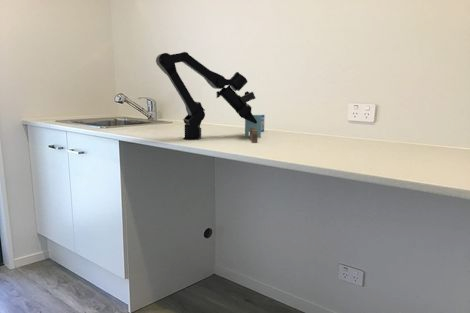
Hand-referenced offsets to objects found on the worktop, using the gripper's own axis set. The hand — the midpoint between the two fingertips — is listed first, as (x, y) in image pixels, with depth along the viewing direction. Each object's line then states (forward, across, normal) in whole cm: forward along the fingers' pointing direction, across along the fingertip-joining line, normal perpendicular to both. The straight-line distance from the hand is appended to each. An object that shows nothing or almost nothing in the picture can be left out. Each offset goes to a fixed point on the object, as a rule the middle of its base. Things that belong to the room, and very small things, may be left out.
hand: (256, 122), depth 171 cm
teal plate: (+4, 0, +6) cm, 7 cm away
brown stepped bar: (+3, -11, +6) cm, 13 cm away
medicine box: (+7, +19, +3) cm, 20 cm away
